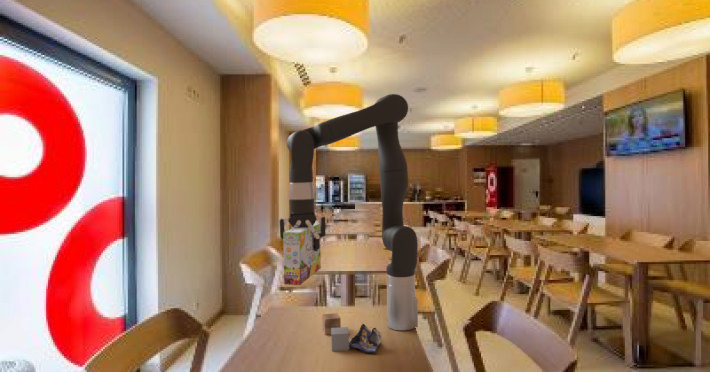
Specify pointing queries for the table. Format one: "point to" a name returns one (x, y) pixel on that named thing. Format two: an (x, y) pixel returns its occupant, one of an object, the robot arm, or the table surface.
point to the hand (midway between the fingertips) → (303, 251)
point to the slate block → (340, 339)
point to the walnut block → (330, 322)
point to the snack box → (300, 255)
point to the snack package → (366, 340)
